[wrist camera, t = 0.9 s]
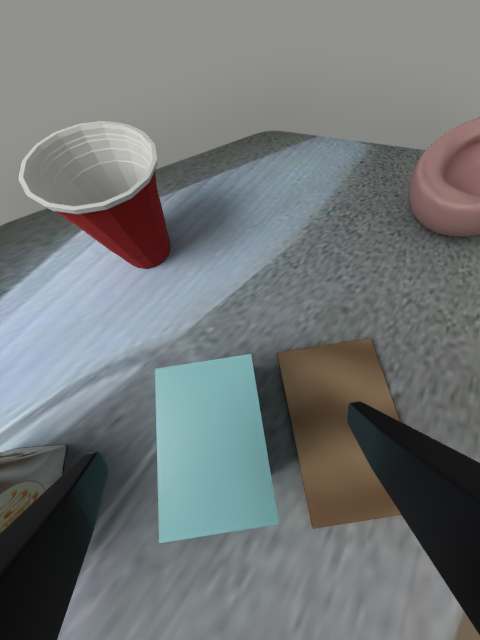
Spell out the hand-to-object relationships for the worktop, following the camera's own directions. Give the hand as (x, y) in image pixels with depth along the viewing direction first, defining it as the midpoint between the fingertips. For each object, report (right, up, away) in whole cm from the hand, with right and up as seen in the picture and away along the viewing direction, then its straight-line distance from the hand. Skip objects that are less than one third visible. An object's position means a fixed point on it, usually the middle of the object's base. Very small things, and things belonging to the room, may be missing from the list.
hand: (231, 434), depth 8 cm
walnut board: (+10, -6, +14) cm, 18 cm away
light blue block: (-1, -6, +14) cm, 15 cm away
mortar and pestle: (+25, +17, +21) cm, 37 cm away
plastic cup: (-11, +13, +21) cm, 28 cm away
